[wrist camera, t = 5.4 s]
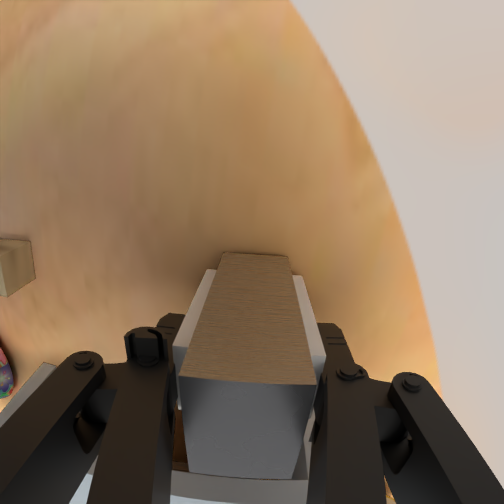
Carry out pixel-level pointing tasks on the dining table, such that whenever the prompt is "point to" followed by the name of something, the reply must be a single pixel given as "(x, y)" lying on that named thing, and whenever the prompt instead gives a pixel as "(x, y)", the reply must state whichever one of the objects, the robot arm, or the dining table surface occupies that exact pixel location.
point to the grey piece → (247, 374)
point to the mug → (5, 377)
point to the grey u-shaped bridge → (194, 485)
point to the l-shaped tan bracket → (15, 265)
